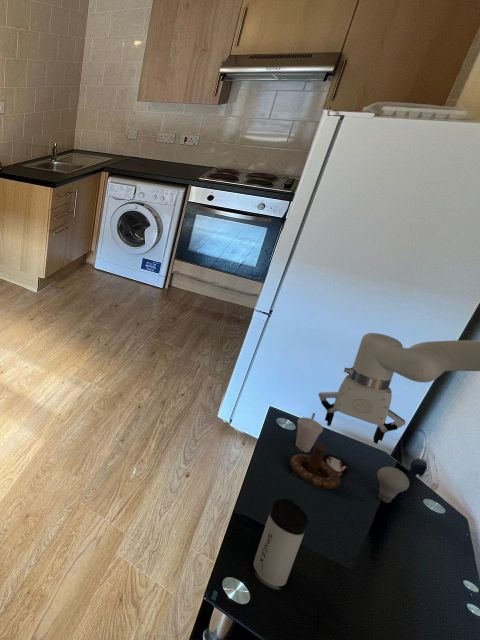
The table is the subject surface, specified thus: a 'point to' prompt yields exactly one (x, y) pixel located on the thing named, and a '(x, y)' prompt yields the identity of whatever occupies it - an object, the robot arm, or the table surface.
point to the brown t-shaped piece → (315, 462)
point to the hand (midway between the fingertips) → (351, 432)
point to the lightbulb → (391, 483)
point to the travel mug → (280, 543)
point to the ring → (321, 482)
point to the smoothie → (307, 433)
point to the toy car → (336, 465)
